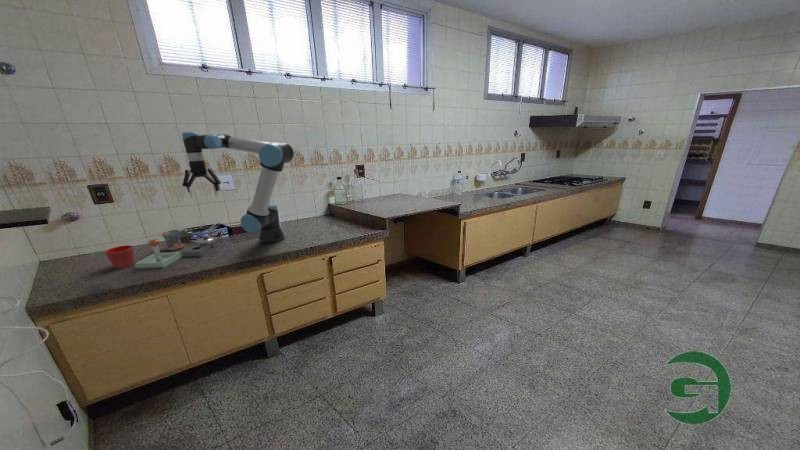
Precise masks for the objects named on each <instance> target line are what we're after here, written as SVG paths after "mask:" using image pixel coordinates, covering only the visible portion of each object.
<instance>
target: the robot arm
mask: <svg viewBox="0 0 800 450" xmlns="http://www.w3.org/2000/svg"><path fill="white" fill-rule="evenodd" d="M181 136H182V142H183V145H184V148H185V154H186V157H187V161H188V165H189V168H190V169H189V168H187V169H185V170H184V178H183V181H182V187H186V189H187V192H188V193H189V195H190V198H191V199H195V198H196V196H195V192H194V187H193V186H192V185H193V183H194V182H195V180H196V178H205V179H206V180H207V181H209V182H210V183H211V184H212V185H213V186H212V187H213V188H212V189H213V193H214V196H215V198H218V197H219V196H220V195H219V193H220V192H219V191H220V186H219V185H221V184H222V182H221V180H220V179H219V178H218V177H217V175H216V174H215V172H214V171H213V169H212V167H210V168H207V167H206V163H205V158H204V154H203V150H216V149H229V150H235V151H242V152H246V153H252V154H258V159H259V161H260V163H259V166H260V167H261V171H260V174H259V177H258V182H257V185H256V188H255V192H254V196H253V199H252V204H250V205H248V207H247V209H246V212H245V213H246V214H244V215H243V214H242V216H241V218H240V222H239V223H240V225H241V227H242V228H243V230H244V231H245V232H248V233H250V234H256V233H259V236H258V239H259V243H261V244H275V243H278V242H281V241H283V240H284V239H285V237H286V236H285V233H284V231H283V230H282V228H281V224H280V215H279V209H278V205H276V204H270V202H271V199H272V196H273V192H274V189H275V185H276V182H277V179H278V175H279V173H281V172H283V169H284V166H285V164H288V163H290V162H291V161H292V160H293V159H294V155H295V153H294V148H293V147H292V146H291V145H290V144H289V143H286V142H284V141H283V142H278V141H273V142H267V141H262V140H257V139H251V138H245V137H239V136H234V135H231V134H227V133H225V134H202V135H200V134H198V132H197V131H183V132H182V133H181ZM208 173H209V174H208Z"/></svg>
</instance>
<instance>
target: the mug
mask: <svg viewBox="0 0 800 450" xmlns="http://www.w3.org/2000/svg"><path fill="white" fill-rule="evenodd" d="M180 233H181V230H180V229H172V230H166V231H163V232H161V233H160V234H161V236H162V237H163V239H164V240H165V242H166V243H165V244H166V251H171V252H172V251H177V250H180V249H182V248H183V247H184V244H183V243H182V241H181V239H180V236H181V235H180Z"/></svg>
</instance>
